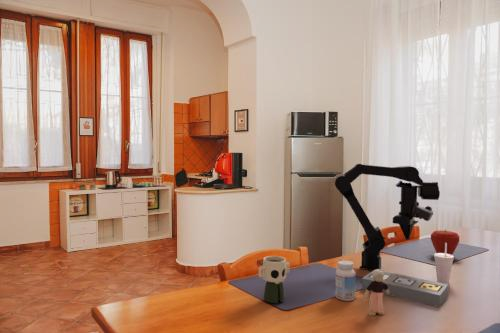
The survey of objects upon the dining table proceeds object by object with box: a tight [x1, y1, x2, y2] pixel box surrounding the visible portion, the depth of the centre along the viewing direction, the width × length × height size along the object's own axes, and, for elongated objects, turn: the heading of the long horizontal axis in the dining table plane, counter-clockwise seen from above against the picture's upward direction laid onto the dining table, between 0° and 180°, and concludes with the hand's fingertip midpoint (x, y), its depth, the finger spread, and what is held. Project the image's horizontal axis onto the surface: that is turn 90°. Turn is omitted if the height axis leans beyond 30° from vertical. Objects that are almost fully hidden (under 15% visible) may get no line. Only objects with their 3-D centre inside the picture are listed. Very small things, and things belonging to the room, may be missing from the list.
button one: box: [370, 275, 390, 280], centre depth 134 cm, size 5×5×3 cm
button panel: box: [361, 270, 449, 307], centre depth 129 cm, size 24×12×4 cm, turn 52°
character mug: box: [258, 255, 290, 304], centre depth 120 cm, size 11×7×13 cm, turn 118°
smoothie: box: [433, 243, 455, 284], centre depth 138 cm, size 6×6×14 cm
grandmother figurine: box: [363, 269, 390, 316], centre depth 112 cm, size 8×4×13 cm, turn 114°
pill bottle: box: [335, 260, 356, 302], centre depth 123 cm, size 6×6×11 cm
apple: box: [430, 229, 460, 255], centre depth 172 cm, size 11×11×12 cm
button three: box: [420, 283, 441, 292], centre depth 124 cm, size 5×5×3 cm
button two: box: [394, 278, 415, 286], centre depth 129 cm, size 5×5×3 cm
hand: (407, 239), depth 151 cm, fingers closed
